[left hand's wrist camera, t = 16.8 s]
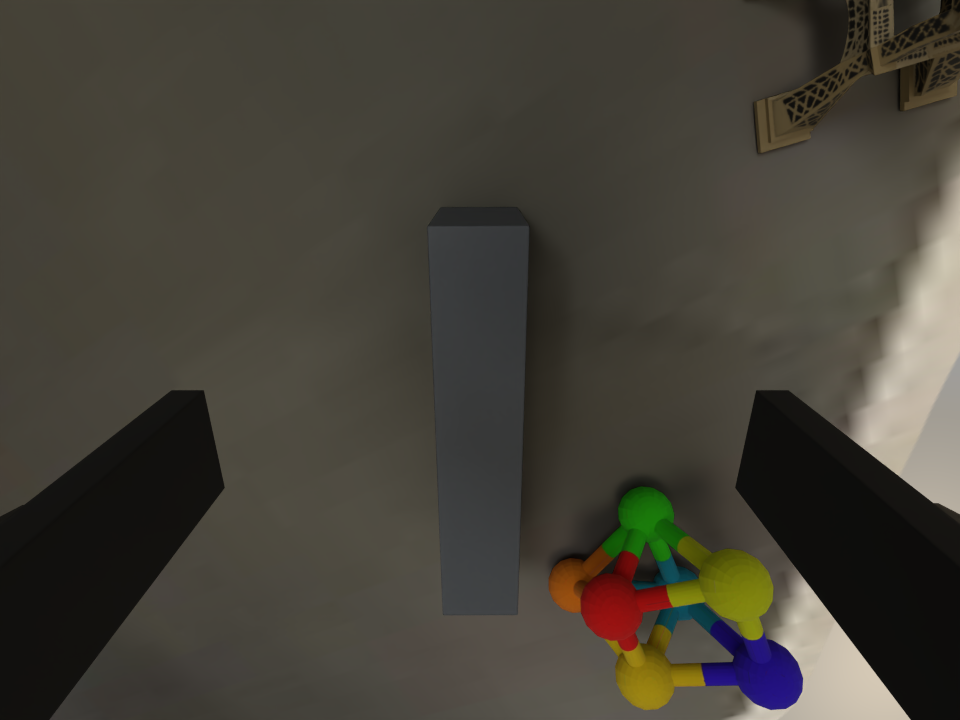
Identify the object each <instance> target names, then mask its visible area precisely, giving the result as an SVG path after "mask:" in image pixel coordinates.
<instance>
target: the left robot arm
mask: <svg viewBox="0 0 960 720" xmlns="http://www.w3.org/2000/svg"><path fill="white" fill-rule="evenodd" d="M224 488H225V487H224V482H223V478H222V473H221V468H220V464H219V459H218V454H217V450H216V445H215V440H214V436H213V431H212V427H211V422H210V417H209V413H208V408H207V403H206V399H205V394H204V390H171V391H170V392H169V393H168V394H166V395H165V396H164V397H162V398H161V399H160V400H159V401H157V402H156V403H155V404H153V405H152V406H151V407H150V408H148V409H147V410H146V411H144V412H143V413H142V414H141V415H139V416H138V417H137V418H135V419H134V420H133V421H132V422H130V423H129V424H128V425H126V426H125V427H124V428H123V429H121V430H120V431H119V432H117V433H116V434H115V435H114V436H112V437H111V438H110V439H109V440H107V441H106V442H105V443H103V444H102V445H101V446H100V447H98V448H97V449H96V450H94V451H93V452H92V453H91V454H89V455H88V456H87V457H85V458H84V459H83V460H82V461H80V462H79V463H78V464H76V465H75V466H74V467H73V468H71V469H70V470H69V471H67V472H66V473H65V474H64V475H62V476H61V477H60V478H58V479H57V480H56V481H55V482H53V483H52V484H51V485H49V486H48V487H47V488H46V489H44V490H43V491H42V492H40V493H39V494H38V495H37V496H35V497H34V498H33V499H31V500H30V501H29V502H28V503H26V504H25V505H22V506H20V507H18V508H16V509H14V510H12V511H10V512H8V513H6V514H4V515H3V516H1V517H0V720H49V719H50V718H51V717H52V715H53V714H54V713H55V711H56V710H57V709H58V707H59V706H60V705H61V703H62V702H63V701H64V699H65V698H66V697H67V695H68V694H69V693H70V692H71V690H72V689H73V688H74V686H75V685H76V684H77V682H78V681H79V680H80V678H81V677H82V676H83V674H84V673H85V672H86V670H87V669H88V668H89V666H90V665H91V664H92V662H93V661H94V660H95V658H96V657H97V656H98V655H99V653H100V652H101V651H102V649H103V648H104V647H105V645H106V644H107V643H108V641H109V640H110V639H111V637H112V636H113V635H114V633H115V632H116V631H117V629H118V628H119V627H120V625H121V624H122V623H123V621H124V620H125V619H126V618H127V616H128V615H129V614H130V612H131V611H132V610H133V608H134V607H135V606H136V604H137V603H138V602H139V600H140V599H141V598H142V596H143V595H144V594H145V592H146V591H147V590H148V588H149V587H150V586H151V584H152V583H153V582H154V580H155V579H156V578H157V577H158V575H159V574H160V573H161V571H162V570H163V569H164V567H165V566H166V565H167V563H168V562H169V561H170V559H171V558H172V557H173V555H174V554H175V553H176V551H177V550H178V549H179V547H180V546H181V545H182V543H183V542H184V541H185V540H186V538H187V537H188V536H189V534H190V533H191V532H192V530H193V529H194V528H195V526H196V525H197V524H198V522H199V521H200V520H201V518H202V517H203V516H204V514H205V513H206V512H207V510H208V509H209V508H210V506H211V505H212V504H213V503H214V501H215V500H216V499H217V497H218V496H219V495H220V493H221V492H222V491H223V489H224ZM735 488H736V489H737V491H738V492H739V493H740V495H741V496H742V497H743V499H744V500H745V501H746V503H747V504H748V505H749V506H750V508H751V509H752V510H753V512H754V513H755V514H756V516H757V517H758V518H759V520H760V521H761V522H762V524H763V525H764V526H765V528H766V529H767V530H768V532H769V533H770V534H771V536H772V537H773V538H774V540H775V541H776V542H777V543H778V545H779V546H780V547H781V549H782V550H783V551H784V553H785V554H786V555H787V557H788V558H789V559H790V561H791V562H792V563H793V565H794V566H795V567H796V569H797V570H798V571H799V573H800V574H801V575H802V577H803V578H804V579H805V580H806V582H807V583H808V584H809V586H810V587H811V588H812V590H813V591H814V592H815V594H816V595H817V596H818V598H819V599H820V600H821V602H822V603H823V604H824V606H825V607H826V608H827V610H828V611H829V612H830V614H831V615H832V616H833V618H834V619H835V620H836V621H837V623H838V624H839V625H840V627H841V628H842V629H843V631H844V632H845V633H846V635H847V636H848V637H849V639H850V640H851V641H852V643H853V644H854V645H855V647H856V648H857V649H858V651H859V652H860V653H861V654H862V656H863V657H864V658H865V660H866V661H867V662H868V664H869V665H870V666H871V668H872V669H873V670H874V672H875V673H876V674H877V676H878V677H879V678H880V680H881V681H882V682H883V684H884V685H885V686H886V687H887V689H888V690H889V692H890V693H891V694H892V695H893V697H894V698H895V699H896V701H897V702H898V703H899V705H900V706H901V707H902V709H903V710H904V711H905V713H906V714H907V715H908V717H909V718H910V719H911V720H960V514H958V513H956V512H954V511H952V510H950V509H948V508H946V507H944V506H942V505H941V504H939V503H932V502H931V501H930V500H929V499H927V498H926V497H925V496H923V495H922V494H921V493H920V492H918V491H917V490H916V489H914V488H913V487H912V486H910V485H909V484H908V483H907V482H905V481H904V480H903V479H902V478H900V477H899V476H898V475H896V474H895V473H894V472H893V471H891V470H890V469H889V468H887V467H886V466H885V465H884V464H882V463H881V462H880V461H878V460H877V459H876V458H875V457H873V456H872V455H871V454H869V453H868V452H867V451H866V450H864V449H863V448H862V447H860V446H859V445H858V444H857V443H855V442H854V441H853V440H851V439H850V438H849V437H848V436H846V435H845V434H844V433H843V432H841V431H840V430H839V429H837V428H836V427H835V426H834V425H832V424H831V423H830V422H828V421H827V420H826V419H825V418H823V417H822V416H821V415H819V414H818V413H817V412H816V411H814V410H813V409H812V408H810V407H809V406H808V405H807V404H805V403H804V402H803V401H801V400H800V399H799V398H798V397H796V396H795V395H794V394H792V393H791V392H790V391H789V390H756V394H755V399H754V403H753V408H752V413H751V417H750V422H749V426H748V431H747V436H746V440H745V445H744V450H743V454H742V459H741V464H740V468H739V473H738V478H737V482H736V487H735Z"/></svg>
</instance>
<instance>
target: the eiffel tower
mask: <svg viewBox="0 0 960 720" xmlns="http://www.w3.org/2000/svg"><path fill="white" fill-rule="evenodd" d="M846 2H847V6H848V14H849V26H848V35H847V40H846V45H845V50H844V53H843V56H842V59H841V62H840V64H838V65H837V66H835V67H833V68H832V69H830V70H828V71H827V72H825V73H823V74H822V75H820V76H818V77H816V78H815V79H813V80H811V81H810V82H808V83H806V84H805V85H803V86H801V87H800V88H798V89H795V90H792V91H788V92H785V93H782V94H778V95H775V96H772V97H769V98H765V99H762V100H759V101H755V102H754V111H755V122H756V134H757V145H758V153H763V152H766V151H770V150H773V149H776V148H780V147H783V146H787V145H790V144H793V143H797V142H800V141H804V140H807V139H810V131H812V130H813V128H814V127H815V126H816V125H817V124H818V123H819V122H820V121H821V119H822V118H823V117H824V116H825V115H826V114H827V113H828V112H829V110H830V109H831V108H832V107H833V106H834V105H835V104H836V103H837V101H838V100H839V99H840V98H841V97H842V96H843V95H844V94H845V92H846V91H847V90H848V89H849V88H850V87H851V86H852V85H853V83H854V82H855V81H856V80H858V79H859V78H860V77H862V76H865V75H869V74H873V75H879V74H882V73H885V72H889V71H892V70H896V69H899V68H900V111H905V110H909V109H912V108H916V107H919V106H922V105H926V104H929V103H933V102H936V101H939V100H943V99H946V98H950V97H953V96H956V95H957V80H959V78H960V0H941V7H940V13H939V15H937V16H934V17H932V18H930V19H928V20H925V21H923V22H921V23H919V24H916V25H914V26H912V27H910V28H908V29H906V30H904V31H903V32H901V33H899V34H898V35H894V7H893V0H846Z"/></svg>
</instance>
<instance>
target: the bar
mask: <svg viewBox="0 0 960 720" xmlns="http://www.w3.org/2000/svg"><path fill="white" fill-rule="evenodd" d="M529 228H530V227H529V225H528V223H527V222H526V220H525V219H524V217H523V215H522V214H521V212H520V211H519V209H518V208H517V207H452V208H440V209H439V211H438V212H437V213H436V215H435V216H434V218H433V219H432V221H431V222H430V224H429V225H428V227H427V230H428V255H429V280H430V305H431V330H432V355H433V380H434V405H435V430H436V455H437V480H438V505H439V530H440V555H441V580H442V605H443V615H517V614H518V589H519V556H520V523H521V490H522V458H523V425H524V392H525V359H526V327H527V294H528V261H529Z"/></svg>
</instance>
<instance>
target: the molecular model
mask: <svg viewBox="0 0 960 720" xmlns="http://www.w3.org/2000/svg"><path fill="white" fill-rule="evenodd" d="M618 518H619V521H620V523H621V526H620V527H619V528H618V529H617V530H616V531H615V532H614V533H613V534H612V535H611V536H610V537H609V538H608V539H607V540H606V541H605V542H604V543H603V544H602V545H601V546H600V547H599V548H598V549H597V550H596V551H595V552H594V553H593V554H592V555H591V556H590V557H589V558H588V559H587V560H586V561H585V562H584V561H583V560H581V559H575V558H568V559H565V560H562V561H560V562H559V563H558V564H557V565H556V566H555V567H554V568H553V569H552V571H551V574H550V576H549V591H550V594H551V596H552V598H553V601H554V602H556V603H557V604H558V605H559V606H560V607H561V608H562V609H564V610H566V611H569V612H572V613H576V612H581V614H582V616H583V618H584V621H585V623H586V625H587V626H588V627H589V628H590V629H591V630H592V631H593V632H594V633H595V634H596V635H597V636H599V637H602V638H604V639H605V640H606V641H607V643H608V644H609V645H610V647H611V648H612V649H613V651H614V652H615V653H616V654H617V656H618V660H617V663H616V666H615V670H616V682H617V684H618V686H619V689H620V691H621V693H622V695H623V696H624V697H625V698H626V699H627V700H628V701H629V702H630V703H631V704H632V705H634V706H636V707H639V708H641V709H644V710H652V709H659V708H660V707H662V706H663V705H665V704H667V703H668V701H669V699H670V698H671V696H672V694H673V693H674V687H675V686H732V685H739V687H740V689H741V691H742V692H743V693H744V694H745V695H746V696H747V697H748V698H749V699H750V700H751V701H752V702H754V703H755V704H757V705H759V706H762V707H765V708H767V709H770V710H776V709H786V708H788V707H790V706H791V705H793V704H794V703H796V702H797V700H798V698H799V696H800V695H801V693H802V687H803V677H802V674H801V671H800V668H799V665H798V662H797V661H796V660H795V658H794V657H793V656H792V655H791V653H790V652H789V651H788V650H787V649H786V648H785V647H783V646H781V645H779V644H778V643H776V642H774V641H773V640H769V639H766V637H765V634H764V631H763V628H762V625H761V622H760V619H759V617H760V616H761V615H763V614H765V613H766V611H767V610H768V608H769V606H770V605H771V603H772V601H773V584H772V581H771V578H770V575H769V573H768V571H767V570H766V568H765V567H764V566H763V565H762V564H761V562H760V561H759V560H758V559H756V558H755V557H753V556H751V555H749V554H748V553H746V552H744V551H742V550H735V549H723V550H720V551H717V552H714V553H711V552H710V551H709V550H707V549H706V548H705V547H703V546H702V545H701V544H699V543H698V542H697V541H695V540H694V539H693V538H691V537H690V536H689V535H687V534H686V533H685V532H683V531H682V530H681V529H679V528H678V527H677V526H676V525H674V524H673V521H674V512H673V508H672V505H671V503H670V501H669V500H668V499H667V498H666V496H665V495H664V494H663V493H661V492H659V491H658V490H656V489H654V488H651V487H642V486H640V487H637V488H634V489H631V490H629V491H628V492H627V493H626V494H625V495H624V496H623V497H622V499H621V501H620V504H619V507H618ZM646 542H648V544H649V546H650V549H651V551H652V553H653V556H654V558H655V561H656V563H657V565H658V568H659V570H660V572H659V573H658V574H657V575H656V576H655V578H654V581H653V582H648V581H634V580H632V579H633V576H634V574H635V571H636V568H637V565H638V562H639V560H640V557H641V554H642V551H643V548H644V546H645V543H646ZM668 544H669V545H670V546H671V547H672V548H674V549H675V550H676V551H677V552H678V553H680V554H681V555H682V556H683V557H685V558H686V559H687V560H688V561H689V562H691V563H692V564H693V565H694V566H696V567H697V568H698V569H699V570H700V573H699V579H698V577H697V576H696V575H695V574H694V573H693V572H691V571H690V570H688V569H686V568H684V567H679V566H676V564H675V561H674V559H673V556H672V554H671V552H670V549H669V547H668ZM619 553H620V555H619V558H618V560H617V563H616V565H615V568H614V570H613V573H612V574H609V573H605V574H601V575H598V576H597V574H599V573H600V572H601V571H602V570H603V569H604V568H605V567H606V566H607V565H608V564H609V563H610V562H611V561H612V560H613V559H614V558H615V557H616V556H617V555H618V554H619ZM704 602H706V603H707V604H708V605H709V606H710V607H711V608H712V609H713V610H715V611H716V612H717V613H718V614H719V615H720V616H722V617H725V618H728V619H730V620H733V621H736V622H737V624H738V627H739V630H740V633H741V635H742V637H741V636H740V635H738V634H737V633H736V632H735V631H734V630H733V629H732V628H730V627H729V626H728V625H727V624H726V623H725V622H724V621H723V620H721V619H720V618H719V617H718V616H717V615H716V614H715V613H713V612H712V611H711V610H710V609H709V608H708V607H707V606H705V605H704ZM654 610H661V611H660V613H659V615H658V618H657V620H656V623H655V625H654V627H653V630H652V632H651V634H650V637H649V639H648V642H647V644H642V643H640V642H639V640H638V638H637V636H636V634H635V632H636V630H637V629H638V627H639V626H640V624H641V622H642V616H643V612H648V611H654ZM692 618H694V619H695V620H696V621H697V622H698V623H699V624H700V625H701V626H702V627H703V628H704V629H705V630H706V631H707V632H708V633H710V634H711V635H712V636H713V637H714V638H715V639H716V640H717V641H718V642H719V643H720V644H721V645H722V646H723V647H725V648H726V649H727V650H728V651H729V652H730V653H731V654H732V655H733V656H734V659H733V662H720V663H686V664H671V663H670V662H669V660H668V659H667V658H666V656H665V655H664V654H665V651H666V649H667V646H668V644H669V641H670V638H671V636H672V633H673V631H674V628H675V625H676V623H677V620H679V621H680V620H690V619H692Z"/></svg>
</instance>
